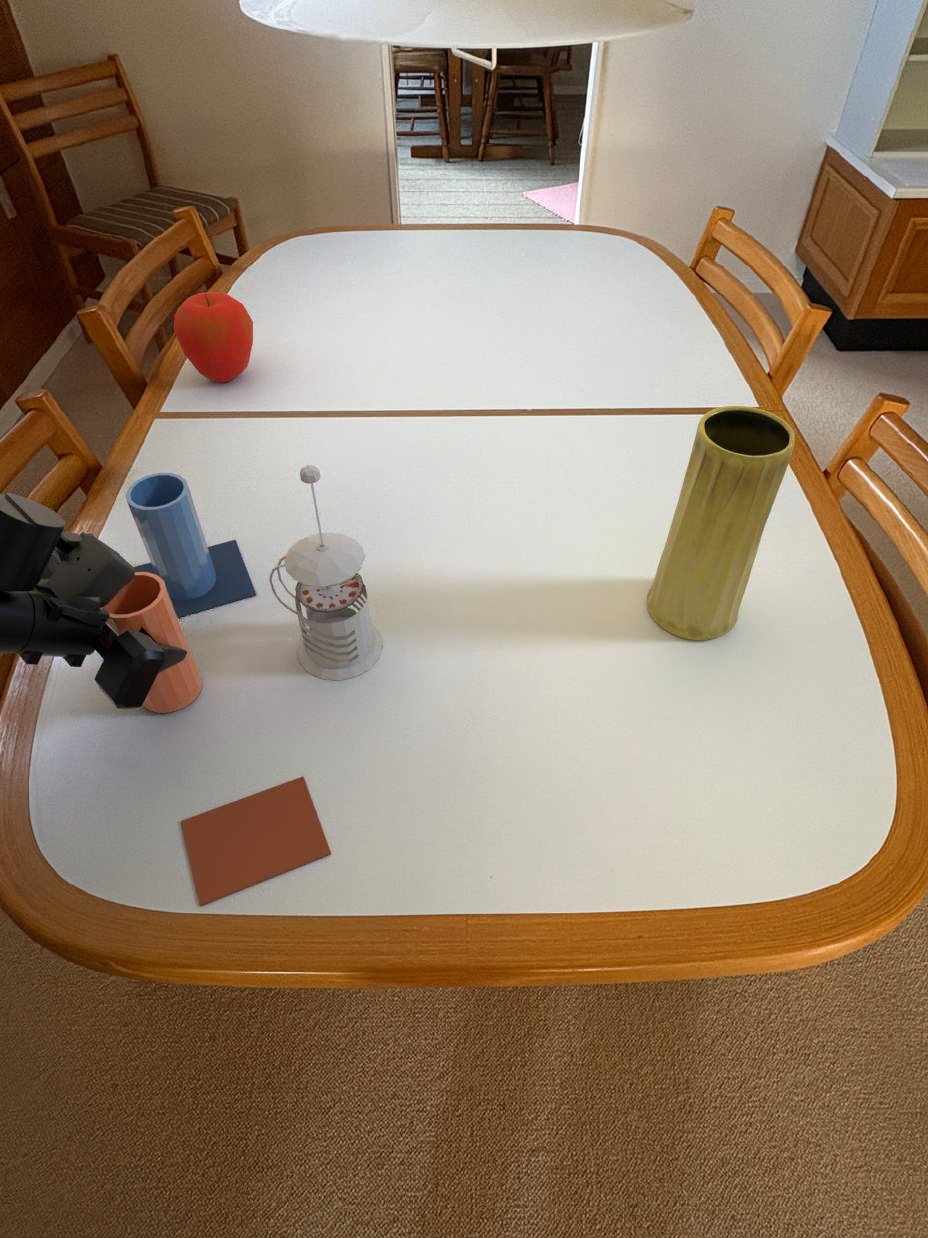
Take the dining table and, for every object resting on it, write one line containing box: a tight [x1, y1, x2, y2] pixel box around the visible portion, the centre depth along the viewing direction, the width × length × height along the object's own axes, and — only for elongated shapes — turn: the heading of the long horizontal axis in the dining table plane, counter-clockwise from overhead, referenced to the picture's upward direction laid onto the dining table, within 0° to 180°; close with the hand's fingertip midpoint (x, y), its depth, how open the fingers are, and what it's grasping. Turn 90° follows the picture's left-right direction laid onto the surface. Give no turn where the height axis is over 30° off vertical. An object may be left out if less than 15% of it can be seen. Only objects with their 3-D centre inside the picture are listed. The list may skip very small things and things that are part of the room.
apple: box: [173, 291, 254, 384], centre depth 125 cm, size 12×12×14 cm
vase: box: [646, 405, 796, 641], centre depth 85 cm, size 11×11×25 cm
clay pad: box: [180, 775, 332, 907], centre depth 74 cm, size 12×9×1 cm
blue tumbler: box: [125, 472, 216, 601], centre depth 92 cm, size 7×7×14 cm
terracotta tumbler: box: [100, 572, 203, 714], centre depth 80 cm, size 7×7×14 cm
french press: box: [268, 464, 384, 682], centre depth 81 cm, size 10×12×25 cm
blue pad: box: [133, 539, 257, 619], centre depth 97 cm, size 14×11×1 cm
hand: (165, 635), depth 81 cm, fingers closed on terracotta tumbler, 7 cm apart
